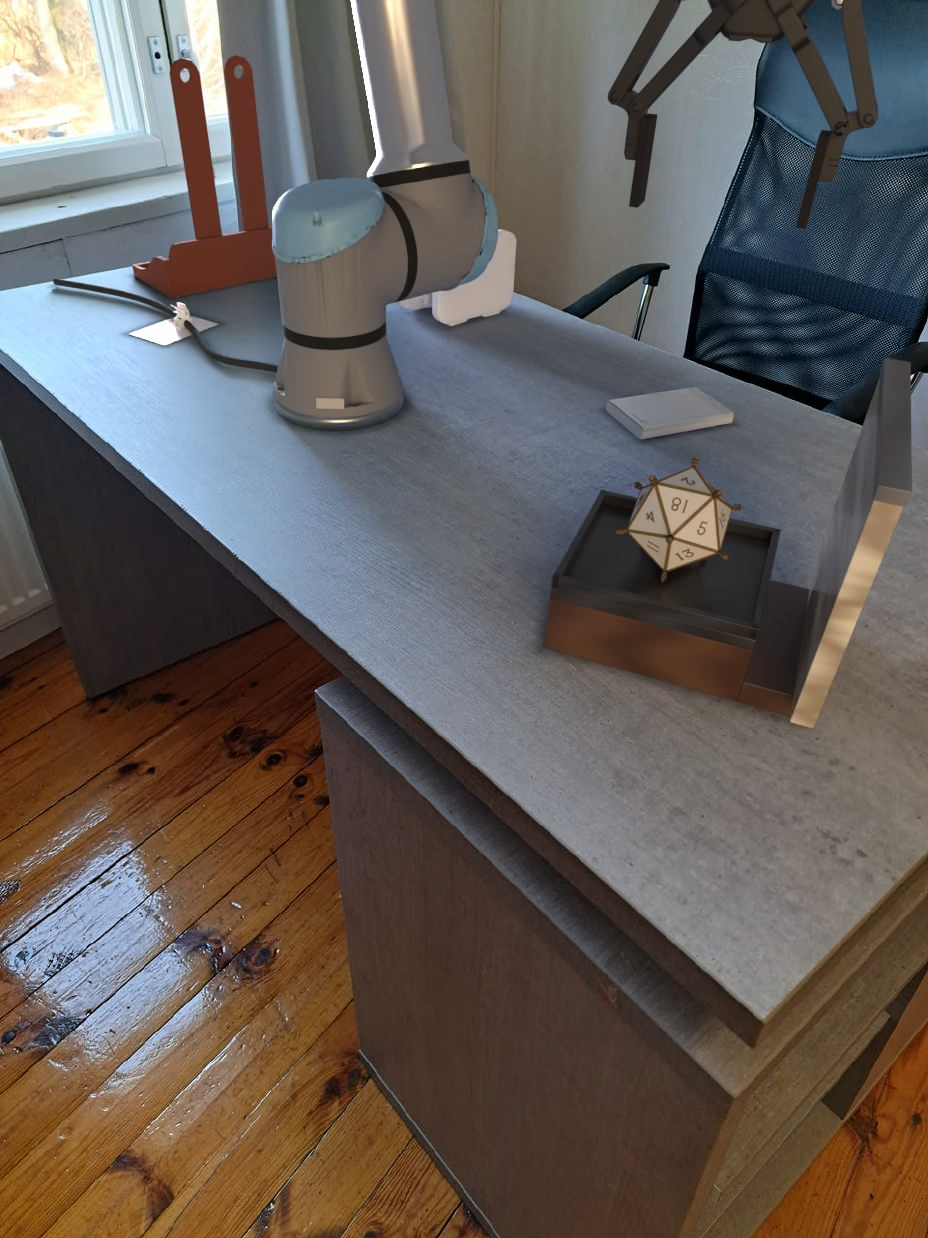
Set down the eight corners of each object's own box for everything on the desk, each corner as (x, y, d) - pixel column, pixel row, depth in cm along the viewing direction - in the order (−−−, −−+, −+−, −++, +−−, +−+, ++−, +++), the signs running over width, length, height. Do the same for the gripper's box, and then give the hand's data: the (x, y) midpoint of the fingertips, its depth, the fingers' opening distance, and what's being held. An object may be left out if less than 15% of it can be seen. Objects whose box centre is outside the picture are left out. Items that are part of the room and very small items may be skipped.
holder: (531, 671, 66) (557, 420, 53) (600, 538, 81) (634, 316, 68) (806, 751, 61) (912, 492, 47) (826, 592, 75) (910, 361, 62)
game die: (643, 606, 69) (581, 527, 63) (669, 526, 73) (613, 444, 67) (749, 598, 63) (691, 510, 57) (772, 511, 67) (720, 420, 61)
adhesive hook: (195, 326, 120) (192, 303, 118) (182, 331, 119) (177, 309, 117) (180, 321, 122) (176, 299, 120) (166, 327, 120) (162, 304, 118)
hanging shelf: (267, 250, 149) (245, 43, 131) (308, 269, 142) (290, 53, 123) (134, 275, 137) (88, 51, 118) (170, 297, 129) (127, 61, 110)
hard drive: (643, 428, 96) (735, 411, 100) (606, 398, 102) (694, 383, 106) (641, 441, 97) (732, 424, 101) (605, 411, 103) (692, 396, 107)
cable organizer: (434, 332, 121) (434, 246, 114) (390, 311, 128) (388, 227, 120) (513, 311, 129) (518, 229, 121) (469, 292, 135) (471, 213, 128)
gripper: (982, -118, 57) (877, 222, 70) (617, -125, 64) (584, 186, 77) (990, -125, 52) (874, 245, 65) (591, -131, 59) (560, 205, 72)
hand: (717, 214), depth 71 cm, fingers open, 13 cm apart
